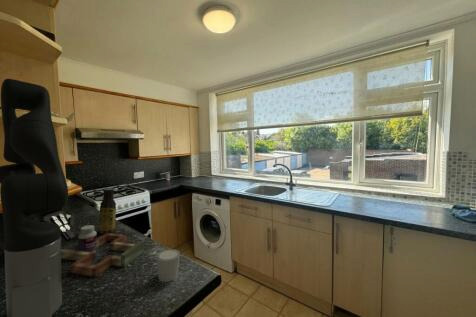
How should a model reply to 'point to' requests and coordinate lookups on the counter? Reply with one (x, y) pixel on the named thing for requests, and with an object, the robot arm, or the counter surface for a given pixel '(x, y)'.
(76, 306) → the counter surface
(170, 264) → the white cup
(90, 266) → the trap channel
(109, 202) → the sauce bottle
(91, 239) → the pill bottle
